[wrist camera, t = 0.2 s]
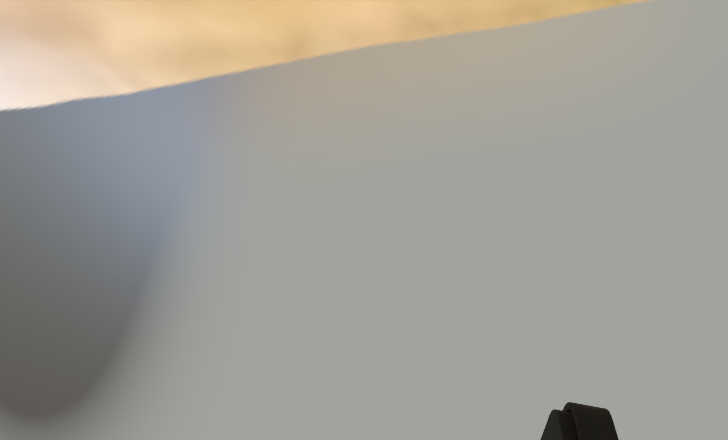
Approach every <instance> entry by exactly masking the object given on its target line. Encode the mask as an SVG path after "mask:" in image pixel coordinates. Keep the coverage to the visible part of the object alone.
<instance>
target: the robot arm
mask: <svg viewBox="0 0 728 440" xmlns="http://www.w3.org/2000/svg"><path fill="white" fill-rule="evenodd" d="M541 440H618V437H617V433H616V430H615V427H614V423H613V420H612V417H611V414H610V412H609V411H608V410H607V409H604V408H599V407H593V406H587V405H582V404H577V403H571V402H569V403H567V404H566V405H565V407H564V409H563V411H560V410H553V411H552V412H551V413H550V416H549V418H548V421H547V424H546V427H545V429H544V432H543V435H542V437H541Z"/></svg>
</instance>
